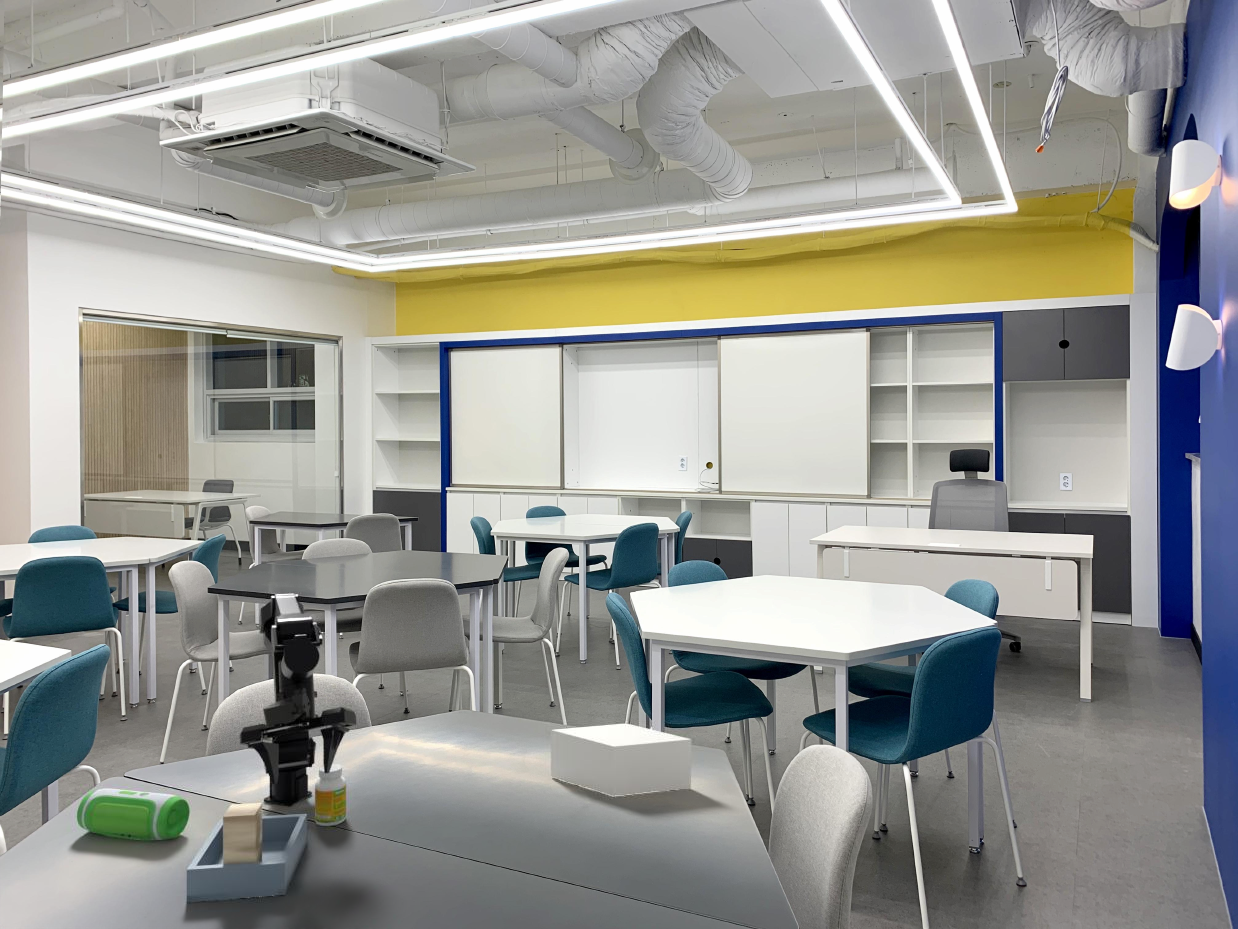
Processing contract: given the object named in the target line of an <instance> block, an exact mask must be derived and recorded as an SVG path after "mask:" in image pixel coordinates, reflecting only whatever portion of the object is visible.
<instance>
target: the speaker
mask: <svg viewBox="0 0 1238 929" xmlns="http://www.w3.org/2000/svg"><path fill="white" fill-rule="evenodd" d="M189 818H190V805H189V803H188V801H187V800H185V799H184V798H182V797H180V796H178V795H175V794H168V793H161V792H160V793H159V792H151V791H139V790H130V789H118V788H109V787H108V788H107V787H105V788H99V789H95V790H92V791H90V792H88V793H87V794H86V795H85V796H84V797H83V799H82V800H81V802H80V804H79V806H78V809H77V812H76V822H77V824H78V825H79V827H80V828H82V829H84V830H86V831H88V832H90V833H94V834H97V835H98V834H99V835H103V836H106V837H110V838H117V839H118V838H119V839H127V840H128V839H129V840H135V841H137V840H138V841H146V842H147V841H167V840H171V839H175V838H177V837H179V835H181V834H182V833H183V831H184V830H185V829H186V826H187V825H188V822H189Z"/></svg>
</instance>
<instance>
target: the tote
mask: <svg viewBox="0 0 1238 929" xmlns="http://www.w3.org/2000/svg"><path fill="white" fill-rule="evenodd" d="M307 843H308V813H297V814H295V813H294V814H293V813H292V814H279V815H278V814H277V815H262V862H249V863H234V864H223V818H220V819H219V821H218V822H217V824H216V825H215V827H214V828H213V830H212V831H211V833H210V834H209V836H208V837H207V839H206V840H205V842H204V843H203V844H202V846H201V847H200V849H199V851H198V852H197V854H196V855H195V857H194V858H193V860H192V861H191V862H190V864H189V865H188V867H187V868H186V903H187V902H188V903H189V902H191V903H202V902H203V901H205V902H215V900H218V901H228V900H230V899H232V900H240V899H239V898H246V899H249V898H248V897H251V898H250V899H253V898H252V897H259V896H260V897H259V898H262V897H261V896H272V895H285V894H287V892H288V890H289V887H290V885H291V882H292V880H293V878H292V877H294V875H295V873H296V870H297V868H298V866H297V865H299V863H300V861H301V859H302V855H303V854H304V850H305V848H306V846H307ZM289 884H290V885H289ZM287 889H288V890H287ZM285 896H286V895H285ZM237 898H238V899H237ZM209 900H210V901H209ZM197 901H198V902H197ZM201 901H202V902H201ZM230 901H231V900H230ZM203 903H204V902H203ZM189 904H190V903H189Z"/></svg>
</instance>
